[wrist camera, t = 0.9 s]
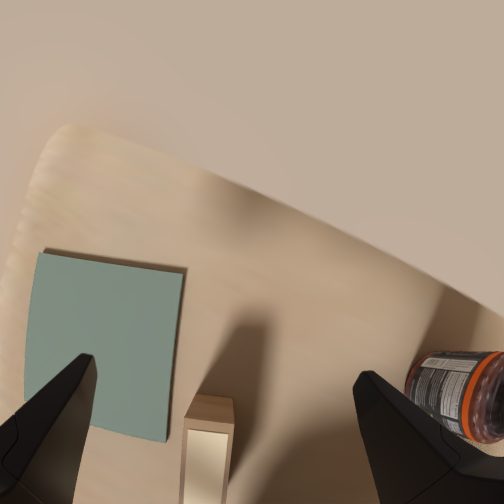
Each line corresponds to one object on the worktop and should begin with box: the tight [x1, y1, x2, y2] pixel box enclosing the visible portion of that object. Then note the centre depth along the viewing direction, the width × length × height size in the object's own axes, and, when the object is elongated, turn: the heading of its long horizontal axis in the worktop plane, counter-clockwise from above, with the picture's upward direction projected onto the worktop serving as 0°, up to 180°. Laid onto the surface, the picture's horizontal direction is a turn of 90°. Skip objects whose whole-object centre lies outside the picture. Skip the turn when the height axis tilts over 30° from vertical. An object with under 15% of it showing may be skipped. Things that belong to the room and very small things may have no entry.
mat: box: [24, 252, 184, 443], centre depth 19 cm, size 12×12×1 cm
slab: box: [179, 394, 234, 504], centre depth 16 cm, size 8×2×6 cm, turn 173°
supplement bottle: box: [405, 351, 504, 444], centre depth 15 cm, size 6×6×11 cm
